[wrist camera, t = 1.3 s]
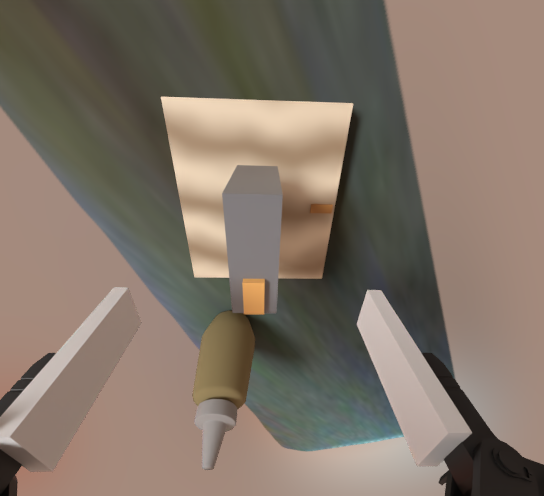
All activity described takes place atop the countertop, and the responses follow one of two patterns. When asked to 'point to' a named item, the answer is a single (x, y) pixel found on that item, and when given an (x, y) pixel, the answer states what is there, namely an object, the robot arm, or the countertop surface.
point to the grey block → (253, 237)
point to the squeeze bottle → (222, 379)
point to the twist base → (258, 152)
